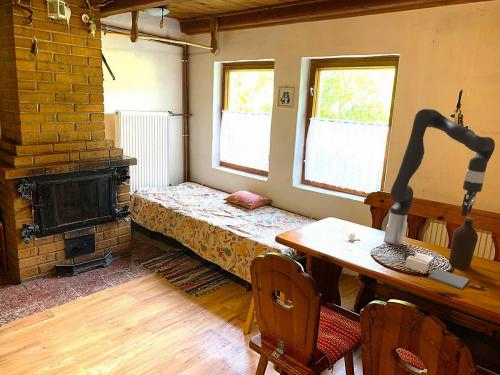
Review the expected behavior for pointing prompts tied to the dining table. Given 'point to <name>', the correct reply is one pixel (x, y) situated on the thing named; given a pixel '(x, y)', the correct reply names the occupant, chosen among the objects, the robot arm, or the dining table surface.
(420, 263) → the block
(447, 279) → the mat
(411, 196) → the robot arm
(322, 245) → the dining table surface
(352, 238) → the teacup and saucer
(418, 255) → the external hard drive
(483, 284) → the dining table surface
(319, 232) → the dining table surface
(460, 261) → the olive oil
